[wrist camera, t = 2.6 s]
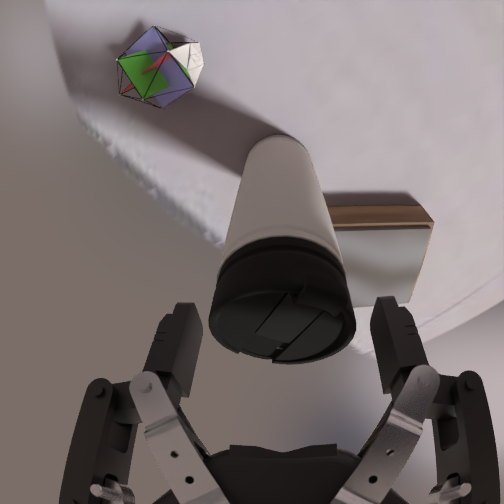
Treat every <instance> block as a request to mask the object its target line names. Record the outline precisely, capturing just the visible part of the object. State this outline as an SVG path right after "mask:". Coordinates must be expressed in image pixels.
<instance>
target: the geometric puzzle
mask: <svg viewBox="0 0 504 504" xmlns="http://www.w3.org/2000/svg"><path fill="white" fill-rule="evenodd" d="M157 27H158V26H157ZM157 27H156V26H155V25H153V26H152V27H151V28H150V29H149V30H148V31H146V32H145V33H144V34H143V35H142V37H141V38H139V39H138V40H136V41H135V42H134V43H133V44H132V45H131V46H130V47H129V48H128V49H127V51H126V52H125V53H124V54H127V56H125V57H123V58H120V57H121V56H120V57H119V58H120V59H119V58H118V59H116V61H118V63H119V64H120V66H121V67H122V69H123V70H124V72H125V73H126V75H127V77H128V78H129V80H130V81H131V84H130V85H129V86H128V87H127V88H126V89H125V90H124V91H123V92H122V93H121V94H123V93H125V92H127V91H129V90H131V89H133V88H135V89H136V90H137V92H138V93H139V95H140V96H141V98H142V99H141V100H142V101H143V100H144V101H145V99H148V97H149V96H151V95H154V96H153V97H155V99H156V100H157V102H158V103H159V105H160V106H161V109H162V110H163V108H164V107H166V106H167V105H169V104H170V103H171V102H173V101H174V100H176V99H177V98H179V97H180V96H182V95H183V94H185V93H186V92H188V91H189V90H191V89H193V88H195V85H196V82H197V80H198V77H199V75H200V73H201V70H202V68H203V65H204V61H203V56H202V52H201V48H200V42H176V43H188V44H185V45H182V46H180V47H177V48H175V49H174V48H173V46H172V45H171V42H169V41H168V40H167V39H166V37H165V36H164V35H163V34H162V33H161V32H160V31H159V30H158V29H157ZM160 28H161V27H160ZM163 29H164V28H163ZM158 31H159V32H160V33H161V34H162V35H163V37H164V38H165V39H166V40H167V41H168V42H169V43H166V42H165V41H164V39H163V38H162V36H161V35H160V33H159V32H158ZM168 31H169V30H168ZM171 32H172V31H171ZM176 34H177V33H176ZM181 36H182V35H181ZM186 38H187V37H186ZM191 40H192V39H191ZM124 54H123V55H124ZM123 55H122V56H123ZM123 70H122V73H123ZM117 71H118V67H117ZM189 77H190V78H191V81H192V82H191V81H190V78H189ZM121 81H122V77H121ZM118 85H119V81H118ZM120 88H121V85H120ZM121 94H120V93H119V94H118V95H121ZM122 96H125V95H122ZM125 97H127V96H125ZM128 98H130V96H128ZM133 98H135V97H132V99H133ZM150 98H152V97H150ZM137 99H139V98H137ZM135 100H136V99H135ZM138 101H139V100H138ZM142 101H141V102H142ZM146 102H148V101H146ZM144 103H145V102H144ZM149 103H150V102H149ZM147 104H148V103H147ZM151 104H152V103H151ZM151 104H150V105H151ZM153 106H154V104H153ZM155 107H158V106H156V105H155ZM158 108H160V107H158Z"/></svg>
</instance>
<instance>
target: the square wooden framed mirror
mask: <svg viewBox="0 0 504 504" xmlns="http://www.w3.org/2000/svg"><path fill="white" fill-rule="evenodd" d="M327 209H328V212H329V215H330V219H331V222H332V225H333V229H334V232H335V235H336V239H337V242H338V246H339V249H340V253H341V257H342V260H343V265H344V268H345V272H346V280H347V286H348V289H349V293H350V297H351V301H352V306H353V308H355V307H368V306H374V305H375V302H376V299H377V297H382V296H394V297H395V299H396V301H397V304H401V303H408V302H409V301H410V298H411V296H412V293H413V290H414V288H415V285H416V282H417V279H418V276H419V273H420V270H421V267H422V264H423V261H424V257H425V254H426V251H427V247H428V244H429V240H430V237H431V233H432V229H433V225H434V221H433V220H432V218H431V217H430V216H429V215H428V213H427V212H426V211H425V209H424V208H423V207H422V206H405V205H391V206H329V207H327Z"/></svg>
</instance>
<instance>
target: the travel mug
mask: <svg viewBox="0 0 504 504" xmlns="http://www.w3.org/2000/svg"><path fill="white" fill-rule="evenodd" d="M209 328H210V331H211V333H212V335H213V336H214V338H215V339H216V340H217V341H218V342H219V343H220V344H221V345H222V346H224V347H225V348H227V349H229V350H231V351H233V352H235V353H237V354H238V353H239V352H242V353H244V354H247V355H250V356H253V357H257V358H262V359H272V363H276V364H303V363H309V362H314V361H318V360H321V359H324V358H327V357H329V356H332V355H334V354H336V353H338V352H339V351H341V350H342V349H344V348H345V347H346V346H347V345H348V344H349V343H350V342H351V340H352V339H353V337H354V335H355V332H356V319H355V315H354V310H353V306H352V301H351V297H350V293H349V289H348V286H347V280H346V272H345V268H344V265H343V260H342V257H341V253H340V249H339V246H338V242H337V239H336V235H335V232H334V229H333V225H332V222H331V219H330V215H329V212H328V209H327V206H326V202H325V199H324V196H323V193H322V190H321V187H320V184H319V181H318V178H317V175H316V172H315V169H314V167H313V164H312V161H311V158H310V156H309V153H308V151H307V150H306V148H305V147H304V146H303V145H302V144H301V143H300V142H299V141H297V140H296V139H294V138H292V137H289V136H285V135H272V136H268V137H265V138H263V139H261V140H260V141H258V142H257V143H256V144H255V145H254V146H253V147H252V148H251V150H250V151H249V153H248V156H247V160H246V163H245V167H244V171H243V174H242V178H241V182H240V186H239V190H238V194H237V197H236V201H235V205H234V209H233V213H232V217H231V221H230V225H229V229H228V233H227V237H226V241H225V245H224V249H223V253H222V258H221V262H220V267H219V271H218V274H217V284H216V290H215V293H214V297H213V302H212V306H211V311H210V315H209Z"/></svg>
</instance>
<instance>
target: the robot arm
mask: <svg viewBox="0 0 504 504" xmlns="http://www.w3.org/2000/svg"><path fill="white" fill-rule="evenodd" d="M370 331H371V336H372V340H373V344H374V349H375V353H376V358H377V363H378V368H379V373H380V378H381V383H382V389H383V394H389V393H391V395H392V401H391V402H390V404H389V406H388V407H387V409H386V411H385V413H384V414H383V416H382V418H381V420H380V421H379V423H378V425H377V426H376V428H375V430H374V431H373V432H372V434H371V435H370V437H369V438H368V439H367V441H366V443H365V444H364V445H363V447H362V448H361V449H360V451H359V452H358V454H357V455H356V454H354V453H352V452H349V451H347V450H343V449H338V448H337V444H327V445H313V446H308V447H304V448H300V449H297V450H293V451H289V452H277V451H272V450H269V449H264V448H261V447H257V446H242V445H230V449H229V450H224V451H220V452H218V453H215V454H213V455H211V454H210V453H209V451H208V450H207V448H206V447H205V446H204V444H203V443H202V441H201V440H200V439H199V437H198V436H197V434H196V432H195V431H194V429H193V427H192V426H191V424H190V422H189V420H188V419H187V417H186V415H185V413H184V412H183V410H182V408H181V406H180V405H179V404H180V399H181V397H188V398H189V395H190V390H191V386H192V381H193V376H194V371H195V367H196V363H197V358H198V354H199V349H200V345H201V340H202V336H203V327H202V323H201V320H200V317H199V314H198V311H197V309H196V306H195V304H194V303H177V304H176V305H175V308H174V311H173V314H166V315H165V317H164V318H163V319H162V320H161V322H160V323H159V326H158V328H157V331H156V334H155V337H154V341H153V342H152V346H151V348H150V351H149V354H148V357H147V360H146V363H145V366H144V369H143V371H142V372H141V373H138V374H137V375H135V376H134V377H133V378H132V380H131V381H128V382H122V383H115V384H111V383H110V382H109V381H108V380H107V379H104V378H98V379H95V380H94V381H92V382H91V383H90V384H89V386H88V388H87V390H86V393H85V396H84V400H83V403H82V406H81V409H80V412H79V416H78V419H77V423H76V426H75V430H74V434H73V437H72V441H71V445H70V449H69V453H68V457H67V462H66V466H65V471H64V476H63V481H62V486H61V491H60V497H59V504H135V496H134V493H133V491H132V490H131V489H130V488H129V487H128V486H127V484H128V477H129V471H130V465H131V459H132V453H133V448H134V443H135V438H136V432H137V428H138V423H143V424H144V427H145V430H146V431H145V432H144V435H145V439H146V441H147V443H148V445H149V447H150V449H151V451H152V454H153V456H154V458H155V460H156V462H157V464H158V466H159V467H160V469H161V471H162V473H163V475H164V477H165V479H166V480H167V482H168V484H169V486H170V488H171V489H170V490H169V491H168V492H166V493H165V494H164V495H163V496H161V497H160V498H159V499H157V500H156V501H155V502H154V503H153V504H409V503H408V502H406V501H405V500H404V499H403V498H402V497H401V496H400V495H399V494H398V493H397V492H396V491H395V490H393V489H392V488H391V487H392V485H393V484H394V482H395V481H396V479H397V477H398V476H399V474H400V472H401V471H402V469H403V468H404V466H405V464H406V462H407V460H408V459H409V457H410V455H411V453H412V452H413V450H414V448H415V446H416V444H417V442H418V440H419V438H420V436H421V434H422V430H423V429H422V425H423V422H424V420H425V418H426V419H432V426H433V434H434V443H435V453H436V466H437V485H436V486H434V487H433V488H432V489H431V491H430V493H429V495H428V499H427V504H500V480H499V467H498V458H497V450H496V443H495V436H494V430H493V425H492V420H491V415H490V410H489V406H488V402H487V397H486V393H485V390H484V386H483V382H482V379H481V377H480V376H479V375H478V374H477V373H476V372H474V371H464V372H462V373H461V374H460V375H459V377H454V376H446V375H441V374H438V372H437V371H436V370H435V369H434V368H433V367H431V366H430V365H429V363H428V361H427V358H426V355H425V351H424V348H423V345H422V342H421V339H420V336H419V334H418V330H417V328H416V326H415V322H414V319H413V316H412V314H411V313H410V312H409V311H408V310H407V309H406V308H405V306H404V307H398V304H397V301H396V299H395V297H394V296H382V297H377V299H376V302H375V305H374V309H373V313H372V316H371V320H370Z"/></svg>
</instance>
